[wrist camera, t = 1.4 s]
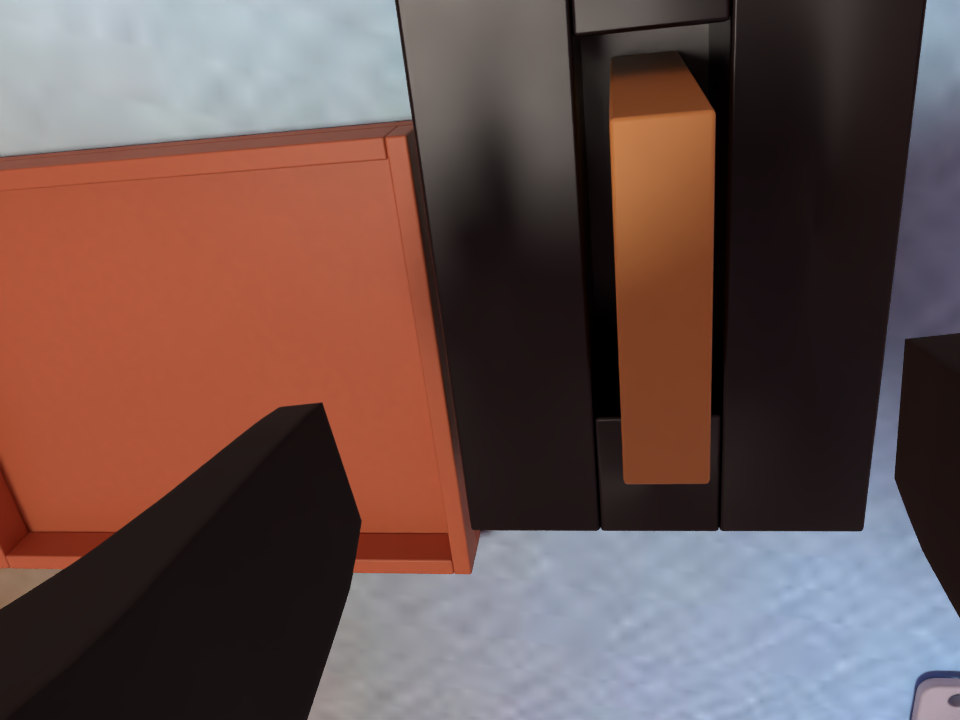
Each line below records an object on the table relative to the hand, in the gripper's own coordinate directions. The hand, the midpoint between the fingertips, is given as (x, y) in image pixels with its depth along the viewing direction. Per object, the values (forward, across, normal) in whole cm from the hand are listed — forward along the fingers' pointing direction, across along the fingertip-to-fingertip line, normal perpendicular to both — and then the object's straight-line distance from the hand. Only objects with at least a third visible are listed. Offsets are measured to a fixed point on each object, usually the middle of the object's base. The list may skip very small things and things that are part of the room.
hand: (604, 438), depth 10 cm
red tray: (+10, +11, +3) cm, 16 cm away
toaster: (+10, -1, 0) cm, 10 cm away
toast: (+10, -1, 0) cm, 10 cm away
